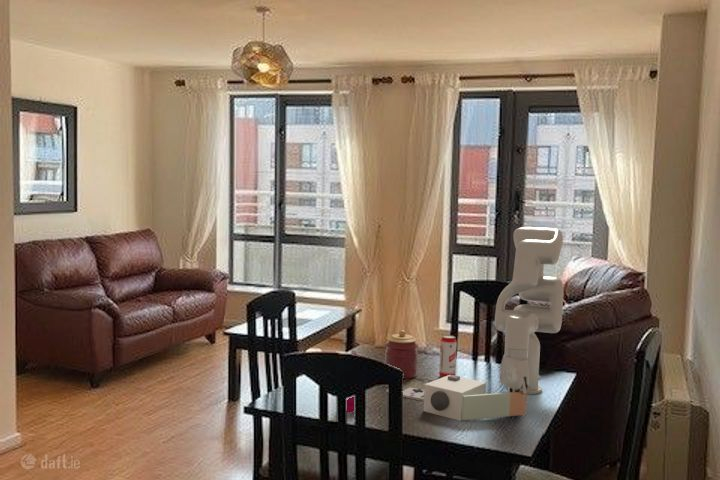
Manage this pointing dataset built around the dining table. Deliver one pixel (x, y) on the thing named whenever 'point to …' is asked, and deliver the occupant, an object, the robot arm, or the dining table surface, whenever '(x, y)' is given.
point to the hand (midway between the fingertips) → (513, 407)
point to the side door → (493, 405)
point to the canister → (402, 353)
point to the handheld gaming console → (414, 394)
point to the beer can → (447, 355)
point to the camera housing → (450, 395)
